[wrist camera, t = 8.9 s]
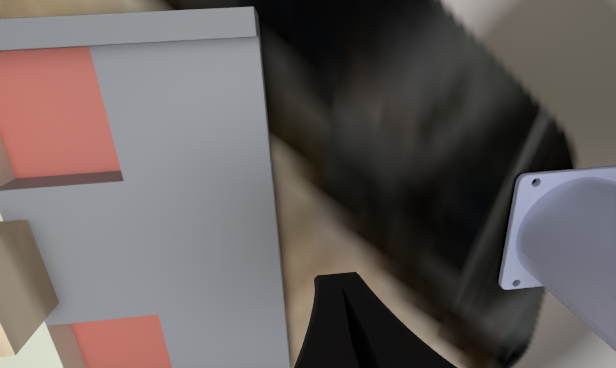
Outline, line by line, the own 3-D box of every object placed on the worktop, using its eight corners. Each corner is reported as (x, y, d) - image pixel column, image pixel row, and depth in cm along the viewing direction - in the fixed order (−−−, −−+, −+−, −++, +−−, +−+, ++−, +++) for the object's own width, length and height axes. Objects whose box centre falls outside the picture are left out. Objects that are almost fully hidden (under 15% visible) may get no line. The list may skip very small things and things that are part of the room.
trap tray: (258, 14, 17) (251, 3, 12) (290, 364, 25) (294, 437, 20) (-169, 36, 16) (-355, 33, 11) (11, 395, 24) (-52, 480, 19)
